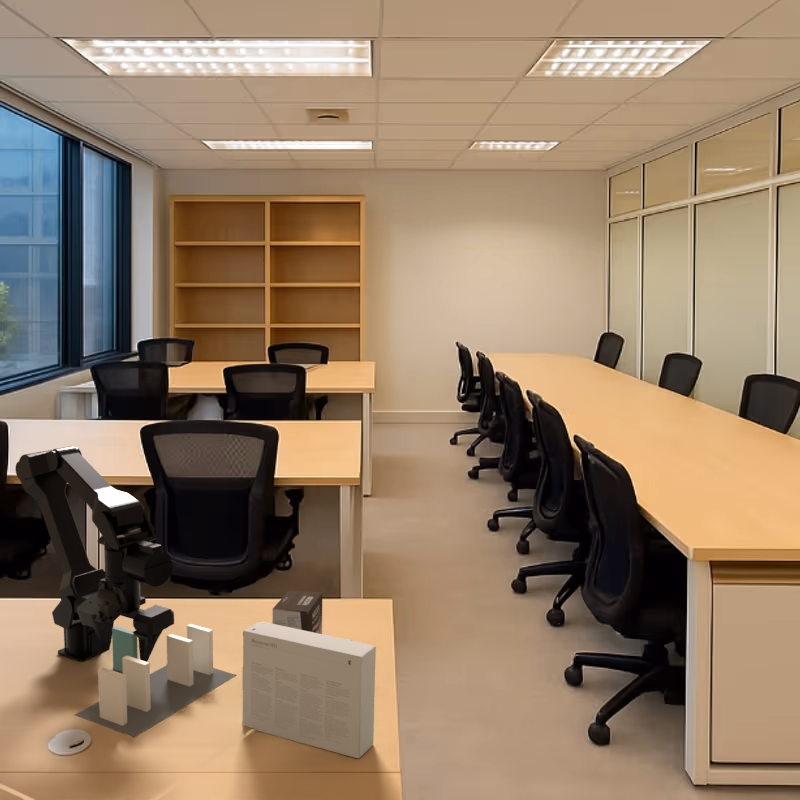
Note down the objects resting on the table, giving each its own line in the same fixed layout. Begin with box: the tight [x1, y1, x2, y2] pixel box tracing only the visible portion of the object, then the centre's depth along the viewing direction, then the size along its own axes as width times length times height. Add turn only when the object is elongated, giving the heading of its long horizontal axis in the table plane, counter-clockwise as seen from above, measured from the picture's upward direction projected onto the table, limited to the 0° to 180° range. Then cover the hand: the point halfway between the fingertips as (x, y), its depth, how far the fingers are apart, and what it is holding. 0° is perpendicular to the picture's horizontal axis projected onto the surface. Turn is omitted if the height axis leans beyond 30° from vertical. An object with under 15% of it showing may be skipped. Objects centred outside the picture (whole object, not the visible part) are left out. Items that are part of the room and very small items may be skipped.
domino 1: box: [97, 667, 127, 726], centre depth 139 cm, size 5×1×8 cm, turn 61°
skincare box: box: [241, 621, 377, 759], centre depth 136 cm, size 21×5×16 cm, turn 65°
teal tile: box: [111, 625, 139, 673], centre depth 156 cm, size 5×1×8 cm, turn 61°
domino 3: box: [166, 633, 194, 687], centre depth 152 cm, size 5×1×8 cm, turn 61°
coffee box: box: [272, 590, 323, 634], centre depth 150 cm, size 9×6×16 cm
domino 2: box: [122, 656, 151, 712], centre depth 144 cm, size 5×1×8 cm, turn 61°
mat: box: [74, 664, 237, 738], centre depth 149 cm, size 13×24×1 cm, turn 151°
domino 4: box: [186, 623, 214, 675], centre depth 156 cm, size 5×1×8 cm, turn 61°
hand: (124, 657), depth 156 cm, fingers open, 9 cm apart
